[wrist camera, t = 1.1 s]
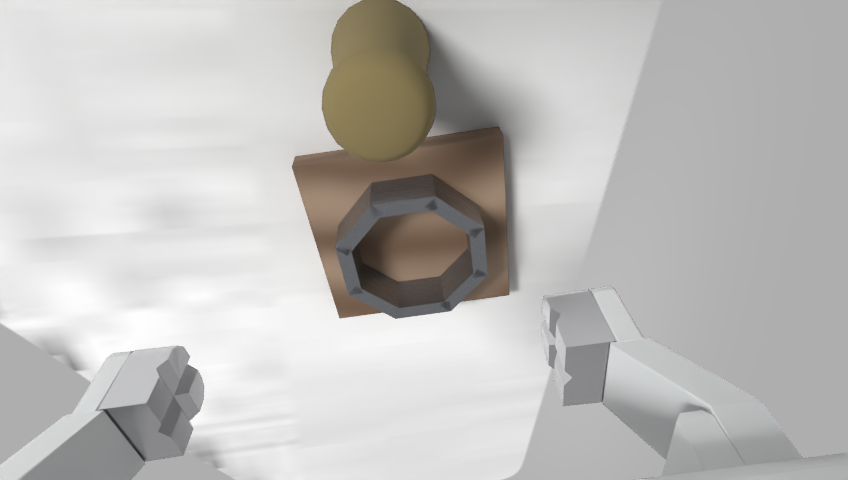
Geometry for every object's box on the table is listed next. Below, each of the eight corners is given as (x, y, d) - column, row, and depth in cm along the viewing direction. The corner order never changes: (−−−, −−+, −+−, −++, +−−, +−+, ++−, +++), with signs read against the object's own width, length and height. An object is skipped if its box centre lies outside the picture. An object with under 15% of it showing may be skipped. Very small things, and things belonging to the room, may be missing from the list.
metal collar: (328, 188, 34) (324, 211, 32) (475, 167, 34) (482, 189, 31) (358, 297, 40) (356, 324, 37) (483, 279, 40) (490, 305, 37)
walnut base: (295, 156, 34) (291, 166, 33) (498, 126, 34) (503, 136, 33) (340, 305, 42) (339, 318, 41) (505, 283, 42) (509, 295, 41)
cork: (444, 17, 30) (469, 74, 21) (412, 111, 33) (422, 195, 24) (343, -18, 28) (324, 26, 19) (321, 83, 31) (295, 162, 23)
